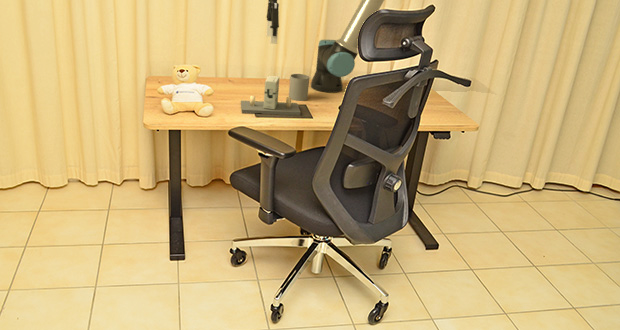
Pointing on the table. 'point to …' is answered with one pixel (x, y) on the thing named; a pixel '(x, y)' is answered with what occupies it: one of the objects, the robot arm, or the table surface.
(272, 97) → the ink box
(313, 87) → the robot arm
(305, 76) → the cup
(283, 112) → the board
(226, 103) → the table surface
